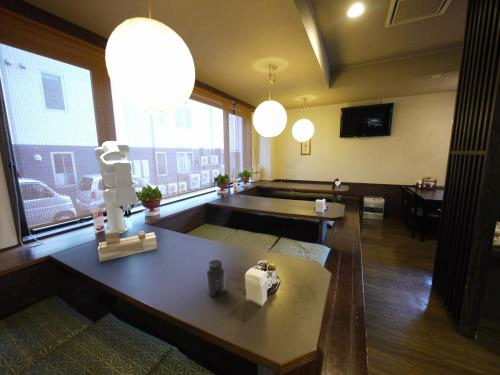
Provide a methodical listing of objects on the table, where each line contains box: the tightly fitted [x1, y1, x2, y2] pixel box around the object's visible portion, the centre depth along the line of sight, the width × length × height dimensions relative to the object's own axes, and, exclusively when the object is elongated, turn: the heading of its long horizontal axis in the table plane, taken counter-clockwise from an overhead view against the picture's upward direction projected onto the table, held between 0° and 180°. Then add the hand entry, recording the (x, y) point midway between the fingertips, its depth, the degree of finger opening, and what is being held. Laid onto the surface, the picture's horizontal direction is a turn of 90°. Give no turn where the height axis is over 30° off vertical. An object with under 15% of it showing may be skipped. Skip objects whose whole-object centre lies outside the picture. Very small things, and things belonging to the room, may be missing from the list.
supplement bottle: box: [206, 259, 226, 297], centre depth 79 cm, size 7×7×12 cm
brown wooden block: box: [137, 230, 146, 239], centre depth 117 cm, size 7×3×2 cm, turn 32°
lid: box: [101, 230, 142, 250], centre depth 112 cm, size 9×19×7 cm, turn 122°
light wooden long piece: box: [97, 232, 158, 263], centre depth 114 cm, size 9×27×7 cm, turn 122°
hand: (128, 217), depth 112 cm, fingers closed
